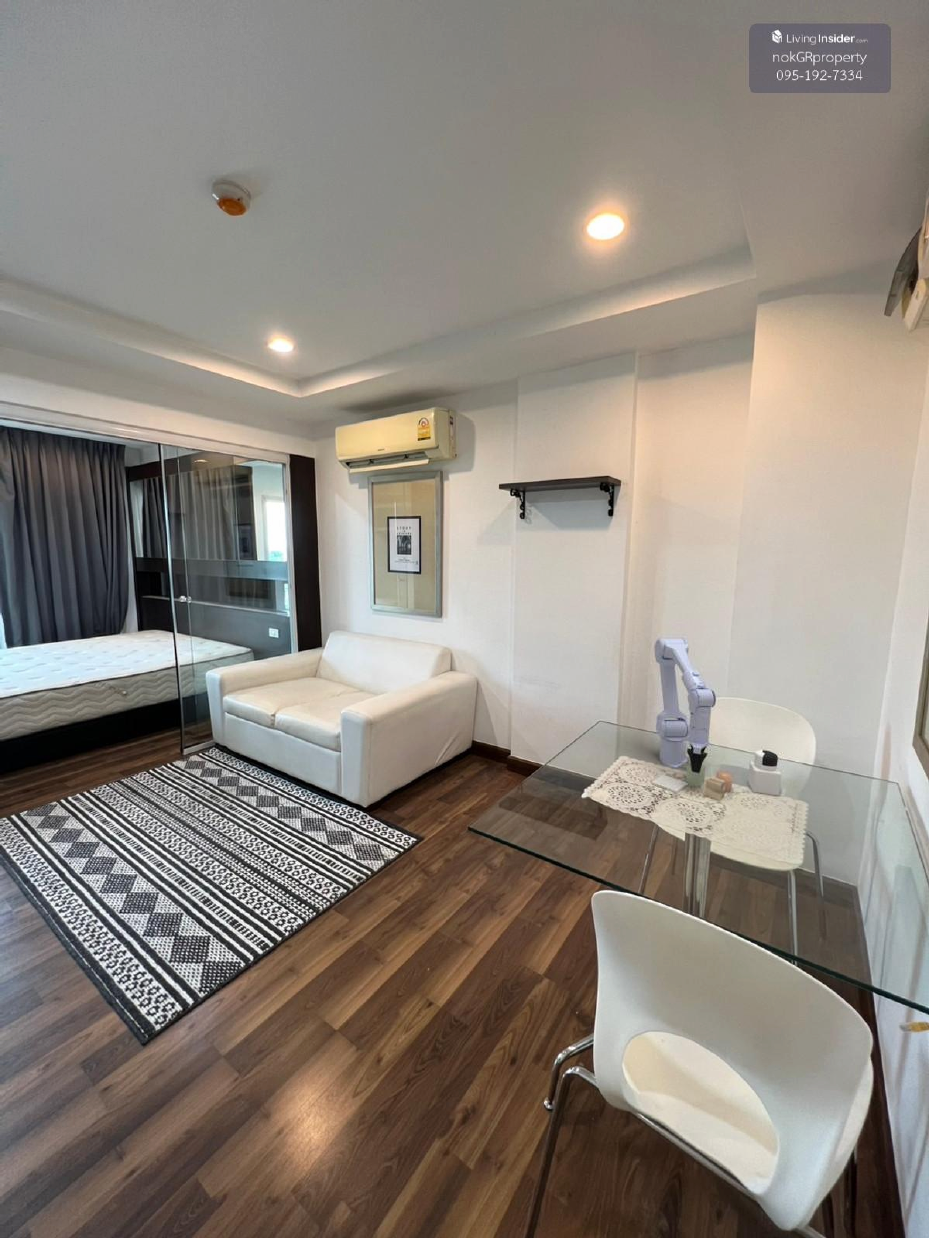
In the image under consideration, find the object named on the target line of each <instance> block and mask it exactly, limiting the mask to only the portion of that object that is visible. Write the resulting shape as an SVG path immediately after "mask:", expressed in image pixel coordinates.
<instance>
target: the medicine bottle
mask: <svg viewBox="0 0 929 1238" xmlns="http://www.w3.org/2000/svg"><path fill="white" fill-rule="evenodd" d="M778 760H779V756H778V755H777V754H776V753H774V752H772V751H771V750H765V749H759V750H756V751H754V760H753V761H750V762H749V768H748V779H747V783H748V786H749V787H750V789H751V790H752V792H753V793H758V794H764V795H765V794H766V795H772V796H778V797H779V796H780V793H781V792H780V789H781V782H782V781H781V780H782V773H781V772H780V770H779V768H778V762H779V761H778Z"/></svg>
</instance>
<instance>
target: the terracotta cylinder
mask: <svg viewBox="0 0 929 1238" xmlns="http://www.w3.org/2000/svg"><path fill="white" fill-rule="evenodd" d="M733 776H734V775H733V774H732V772H728V771H725V770H717V771H716V777H715V778H718V779H721V780H724V781H725V793H731V792H732V789H733V788H732V787H733V778H734V777H733Z"/></svg>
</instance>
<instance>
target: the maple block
mask: <svg viewBox="0 0 929 1238" xmlns="http://www.w3.org/2000/svg"><path fill="white" fill-rule="evenodd" d="M725 793H726V792H725V781H724V780H721V779H718V778H716V777H714V776H710V777H709V778H707V779H706V781H705V794H704V796H705V797H707V798H709V797H710V798H709V799H713V800H715V801H717V802H720V801H721V800H722V799H723V798H724V797H725Z"/></svg>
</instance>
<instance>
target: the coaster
mask: <svg viewBox="0 0 929 1238" xmlns="http://www.w3.org/2000/svg"><path fill="white" fill-rule="evenodd" d="M651 785H654V786H657V787H659V788H662V789H664V790H667V791H669V792H672V793H675V794H677V793H679V792H680V791H682V790H683V789H685V788H686V787H687V786H688V785H689V784H688V783H686V781H682V780H679V779H677V778H674V777H671V776H668V775H665V774H662V775H661V776H659V777H657V778H655V780H652V781H651Z"/></svg>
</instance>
